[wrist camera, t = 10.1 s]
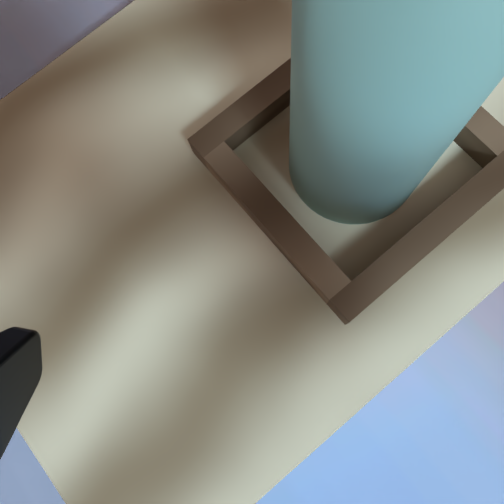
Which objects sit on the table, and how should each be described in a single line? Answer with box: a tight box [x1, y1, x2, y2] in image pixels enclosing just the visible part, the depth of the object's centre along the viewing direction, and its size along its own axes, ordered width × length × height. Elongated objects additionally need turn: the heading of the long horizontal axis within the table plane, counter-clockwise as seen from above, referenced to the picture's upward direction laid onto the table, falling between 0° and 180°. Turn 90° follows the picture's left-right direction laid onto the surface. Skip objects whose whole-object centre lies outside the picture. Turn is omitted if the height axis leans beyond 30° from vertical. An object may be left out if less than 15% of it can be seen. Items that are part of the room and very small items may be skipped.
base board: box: [0, 0, 504, 504], centre depth 18 cm, size 19×23×3 cm
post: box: [289, 0, 504, 224], centre depth 12 cm, size 5×5×13 cm
